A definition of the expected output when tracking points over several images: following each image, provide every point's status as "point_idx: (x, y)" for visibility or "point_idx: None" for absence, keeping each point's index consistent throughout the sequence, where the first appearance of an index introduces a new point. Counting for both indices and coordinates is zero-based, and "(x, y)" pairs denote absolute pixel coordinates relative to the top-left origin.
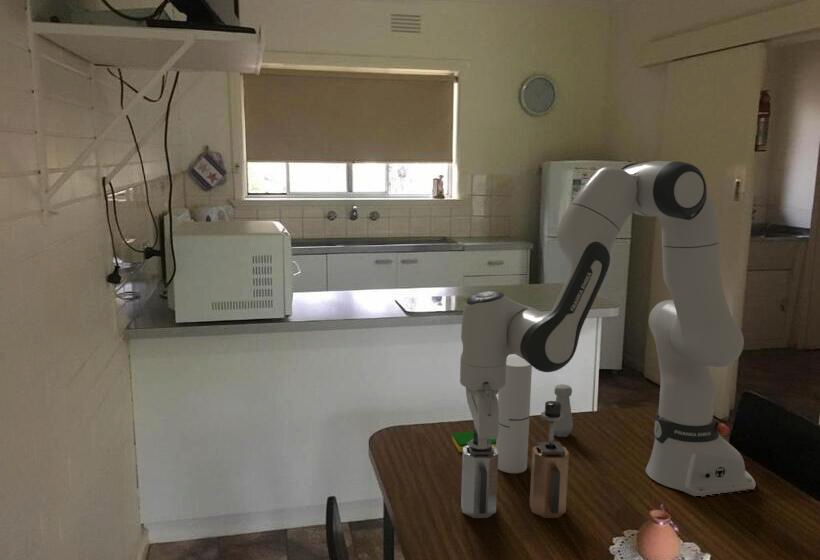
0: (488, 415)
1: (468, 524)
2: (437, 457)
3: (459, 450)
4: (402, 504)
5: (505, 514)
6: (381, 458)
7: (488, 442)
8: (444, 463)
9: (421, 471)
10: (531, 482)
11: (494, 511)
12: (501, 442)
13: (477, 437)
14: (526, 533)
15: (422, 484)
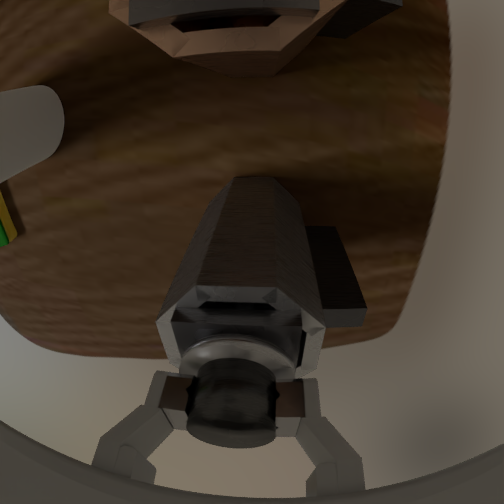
0: (147, 486)
1: None
2: (49, 277)
3: (15, 236)
4: None
5: (281, 152)
6: (90, 354)
7: (228, 356)
8: (63, 267)
9: (107, 310)
10: (232, 71)
11: (278, 184)
12: (4, 174)
13: (279, 434)
14: (376, 120)
15: (155, 315)
